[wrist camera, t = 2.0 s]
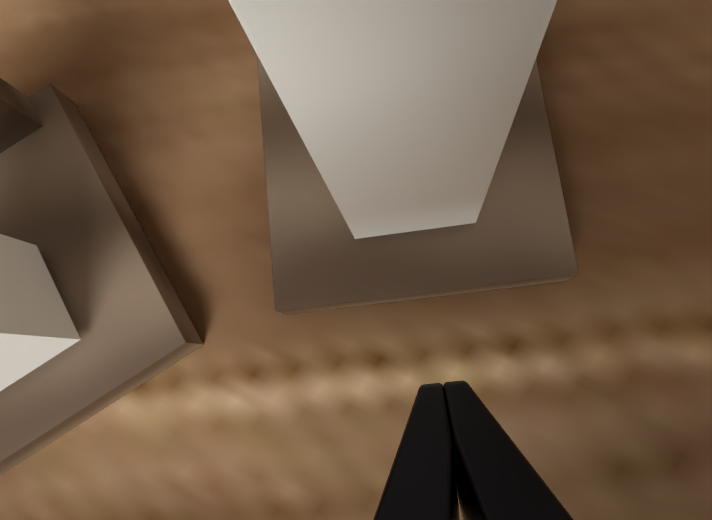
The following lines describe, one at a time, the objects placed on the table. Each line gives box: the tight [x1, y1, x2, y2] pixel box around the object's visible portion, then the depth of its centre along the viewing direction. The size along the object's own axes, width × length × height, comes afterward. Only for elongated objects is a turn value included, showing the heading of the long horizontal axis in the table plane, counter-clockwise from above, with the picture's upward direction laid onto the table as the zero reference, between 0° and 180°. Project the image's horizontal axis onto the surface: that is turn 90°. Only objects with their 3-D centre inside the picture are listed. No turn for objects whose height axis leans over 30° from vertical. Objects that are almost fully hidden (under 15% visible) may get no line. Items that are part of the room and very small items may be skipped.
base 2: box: [257, 55, 579, 314], centre depth 18 cm, size 12×10×4 cm
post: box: [228, 0, 557, 239], centre depth 10 cm, size 4×4×16 cm
